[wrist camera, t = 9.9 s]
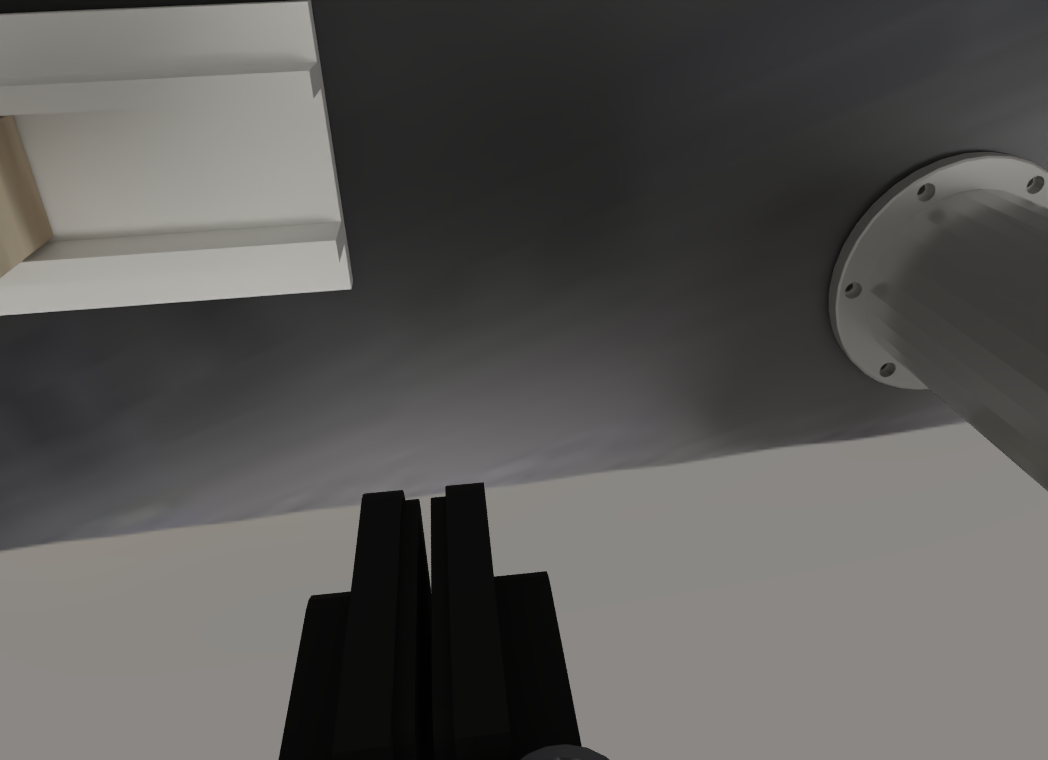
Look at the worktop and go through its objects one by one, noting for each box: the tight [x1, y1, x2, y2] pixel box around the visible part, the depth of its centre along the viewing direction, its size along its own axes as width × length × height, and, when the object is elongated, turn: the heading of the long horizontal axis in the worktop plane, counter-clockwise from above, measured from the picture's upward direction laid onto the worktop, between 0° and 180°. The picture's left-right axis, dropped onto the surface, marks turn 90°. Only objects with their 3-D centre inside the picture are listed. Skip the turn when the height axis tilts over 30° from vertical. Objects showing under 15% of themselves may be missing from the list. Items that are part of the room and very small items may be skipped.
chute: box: [0, 0, 353, 316], centre depth 32 cm, size 17×12×4 cm
